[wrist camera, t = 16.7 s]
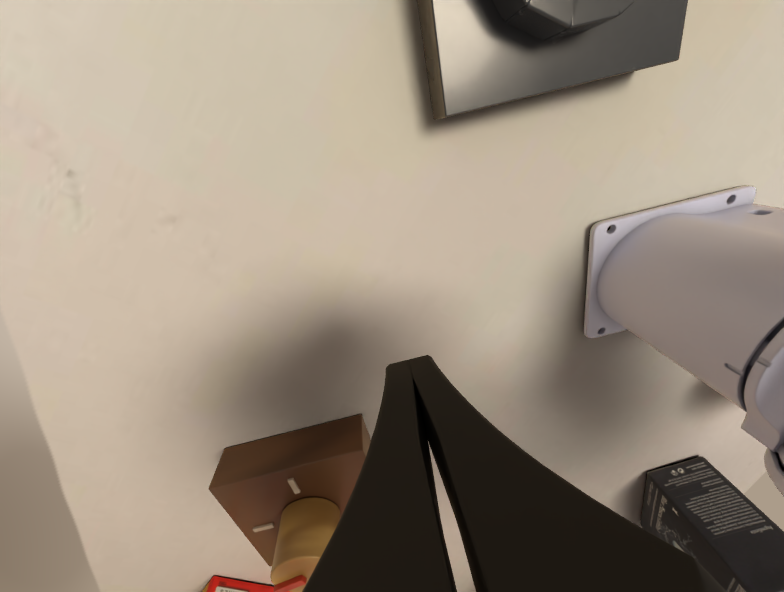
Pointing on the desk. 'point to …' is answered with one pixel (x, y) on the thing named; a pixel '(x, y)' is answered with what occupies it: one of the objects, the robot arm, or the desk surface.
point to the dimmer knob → (302, 541)
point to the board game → (234, 586)
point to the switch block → (539, 46)
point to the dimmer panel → (288, 475)
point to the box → (714, 526)
